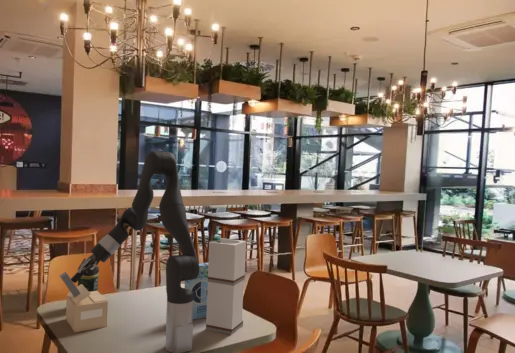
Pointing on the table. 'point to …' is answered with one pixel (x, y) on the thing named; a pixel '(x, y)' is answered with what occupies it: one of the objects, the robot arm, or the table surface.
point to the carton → (87, 312)
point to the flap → (74, 289)
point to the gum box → (199, 291)
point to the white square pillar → (225, 285)
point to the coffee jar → (90, 280)
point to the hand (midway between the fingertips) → (72, 281)
